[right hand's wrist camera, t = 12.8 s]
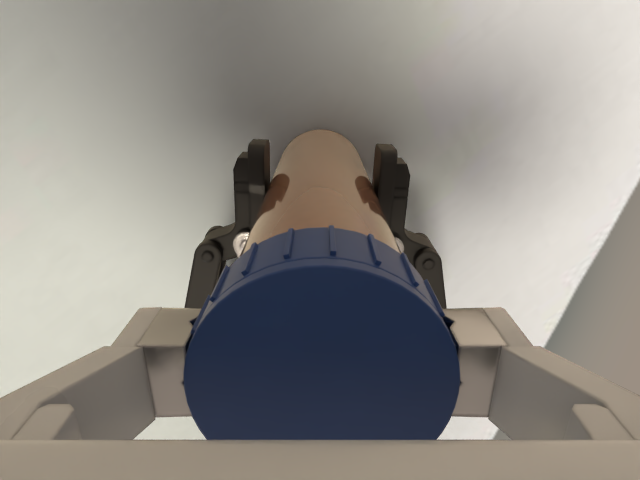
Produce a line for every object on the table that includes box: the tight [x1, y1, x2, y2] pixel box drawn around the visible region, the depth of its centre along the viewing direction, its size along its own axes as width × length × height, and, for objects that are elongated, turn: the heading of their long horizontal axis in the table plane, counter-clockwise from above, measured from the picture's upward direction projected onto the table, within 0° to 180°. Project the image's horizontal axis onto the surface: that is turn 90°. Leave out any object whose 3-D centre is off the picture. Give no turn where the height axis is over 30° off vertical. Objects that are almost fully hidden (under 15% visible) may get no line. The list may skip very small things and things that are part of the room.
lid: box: [183, 225, 460, 440], centre depth 9 cm, size 6×6×2 cm
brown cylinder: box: [240, 129, 401, 256], centre depth 18 cm, size 5×5×18 cm
